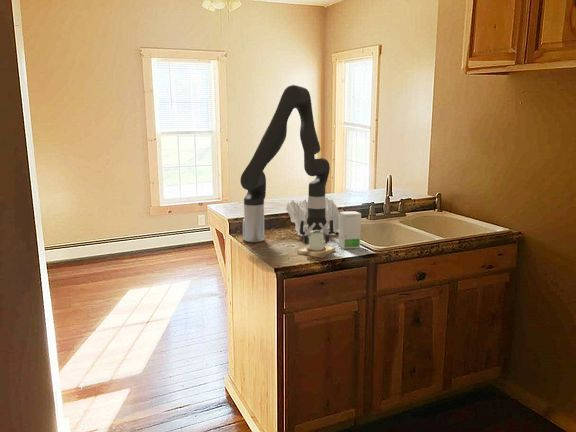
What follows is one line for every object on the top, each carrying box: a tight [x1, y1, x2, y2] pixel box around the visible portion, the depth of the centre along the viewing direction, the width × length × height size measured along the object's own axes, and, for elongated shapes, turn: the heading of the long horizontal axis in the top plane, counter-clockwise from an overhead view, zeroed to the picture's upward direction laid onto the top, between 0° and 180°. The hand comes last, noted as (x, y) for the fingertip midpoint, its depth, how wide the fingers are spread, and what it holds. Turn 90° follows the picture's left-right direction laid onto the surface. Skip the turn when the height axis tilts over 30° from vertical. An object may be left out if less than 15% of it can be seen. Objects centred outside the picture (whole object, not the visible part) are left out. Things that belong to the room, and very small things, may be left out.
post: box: [296, 243, 336, 259], centre depth 216 cm, size 12×12×6 cm
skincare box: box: [337, 210, 362, 250], centre depth 223 cm, size 8×7×16 cm
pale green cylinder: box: [308, 230, 325, 250], centre depth 215 cm, size 6×6×8 cm
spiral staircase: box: [285, 197, 340, 238], centre depth 245 cm, size 18×18×25 cm
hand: (316, 243), depth 215 cm, fingers open, 8 cm apart
